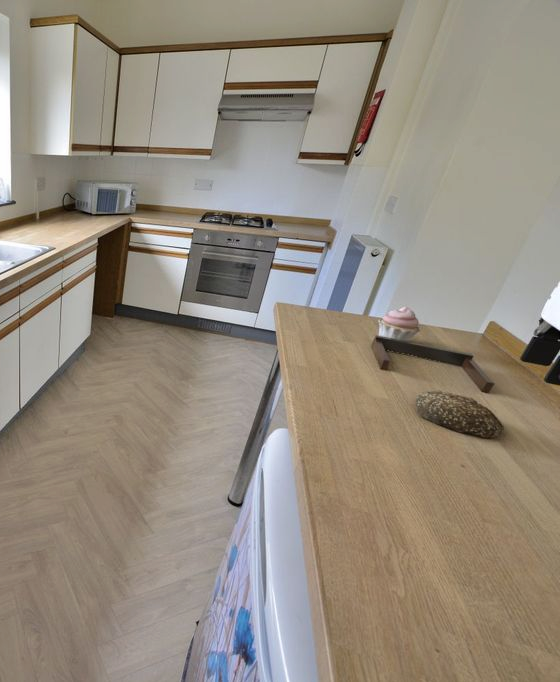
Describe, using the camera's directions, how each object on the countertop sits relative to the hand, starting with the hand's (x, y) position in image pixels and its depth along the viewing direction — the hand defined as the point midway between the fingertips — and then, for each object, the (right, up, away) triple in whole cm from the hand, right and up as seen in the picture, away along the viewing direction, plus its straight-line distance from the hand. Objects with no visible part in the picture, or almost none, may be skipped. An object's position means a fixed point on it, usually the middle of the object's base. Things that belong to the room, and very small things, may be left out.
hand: (546, 372), depth 59 cm
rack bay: (+20, -2, +40) cm, 45 cm away
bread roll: (+7, -11, +20) cm, 24 cm away
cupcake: (+24, +5, +55) cm, 60 cm away
